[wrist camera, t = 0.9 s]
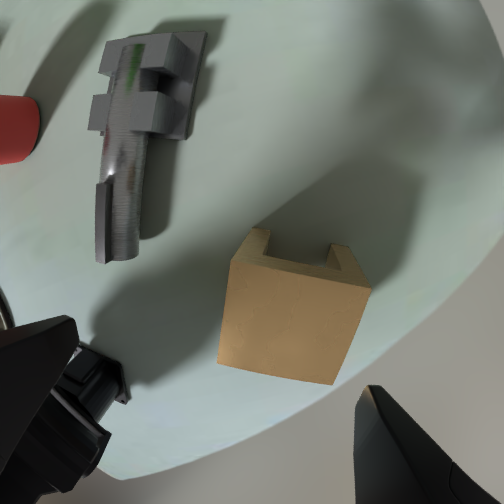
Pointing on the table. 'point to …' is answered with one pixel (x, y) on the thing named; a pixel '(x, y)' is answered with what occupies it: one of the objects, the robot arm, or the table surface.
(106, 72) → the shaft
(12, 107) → the beer can
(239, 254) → the open tan box
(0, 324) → the salad plate
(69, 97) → the table surface
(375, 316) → the table surface
